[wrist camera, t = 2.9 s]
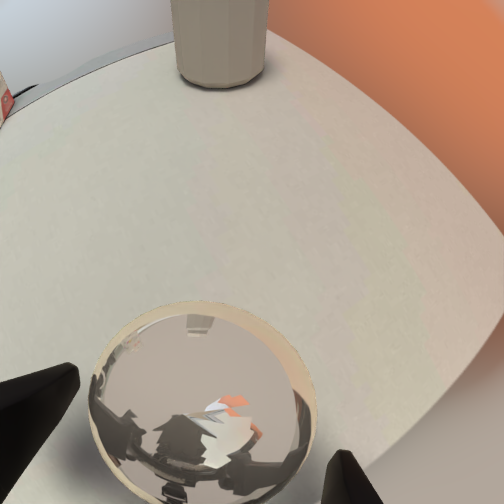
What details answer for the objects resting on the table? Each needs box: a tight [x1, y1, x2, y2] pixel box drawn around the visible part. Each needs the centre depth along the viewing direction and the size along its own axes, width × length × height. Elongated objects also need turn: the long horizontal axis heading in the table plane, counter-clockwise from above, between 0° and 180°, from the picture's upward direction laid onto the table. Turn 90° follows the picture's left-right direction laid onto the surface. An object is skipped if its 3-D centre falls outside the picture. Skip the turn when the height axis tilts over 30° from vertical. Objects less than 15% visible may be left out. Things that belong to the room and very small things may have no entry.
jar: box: [171, 0, 269, 88], centre depth 24 cm, size 10×10×18 cm
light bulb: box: [88, 301, 318, 504], centre depth 11 cm, size 7×7×12 cm
